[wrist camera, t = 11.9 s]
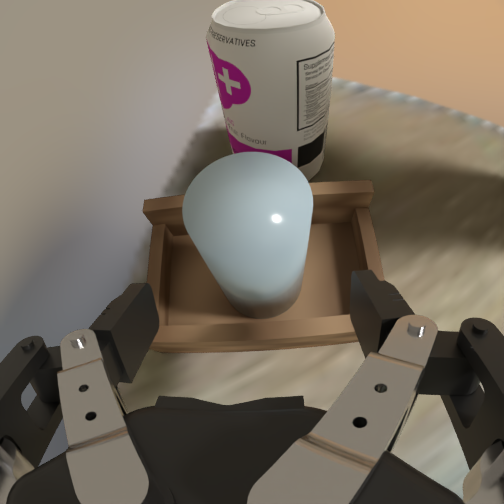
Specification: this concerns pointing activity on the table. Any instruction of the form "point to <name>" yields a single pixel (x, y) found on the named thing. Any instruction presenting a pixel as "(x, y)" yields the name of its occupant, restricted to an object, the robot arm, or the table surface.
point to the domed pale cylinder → (252, 229)
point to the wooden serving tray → (286, 324)
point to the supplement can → (274, 77)
